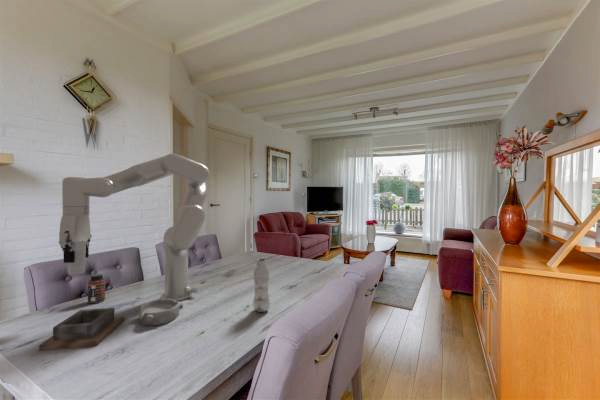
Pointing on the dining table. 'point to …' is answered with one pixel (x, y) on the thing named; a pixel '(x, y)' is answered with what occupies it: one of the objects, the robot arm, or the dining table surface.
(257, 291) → the plastic bottle
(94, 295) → the supplement bottle
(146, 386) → the dining table surface
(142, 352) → the dining table surface
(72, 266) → the skincare box
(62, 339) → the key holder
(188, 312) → the dining table surface
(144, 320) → the dish
